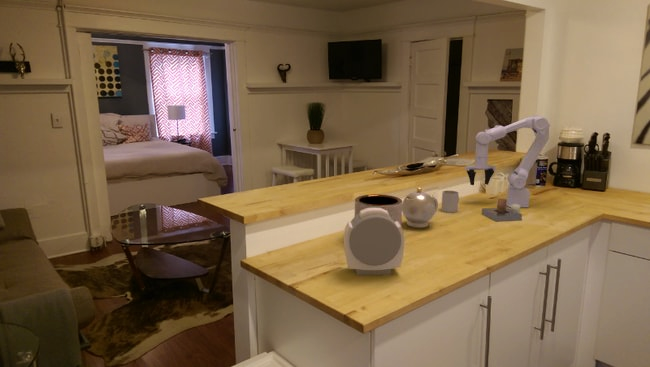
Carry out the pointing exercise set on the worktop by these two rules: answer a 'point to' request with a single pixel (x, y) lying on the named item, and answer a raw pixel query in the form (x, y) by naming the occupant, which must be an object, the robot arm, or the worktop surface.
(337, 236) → the worktop surface
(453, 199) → the cup
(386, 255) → the alarm clock
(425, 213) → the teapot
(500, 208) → the walnut dowel
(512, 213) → the collar plate
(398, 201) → the planter
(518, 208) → the pale cream cylinder
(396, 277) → the worktop surface
